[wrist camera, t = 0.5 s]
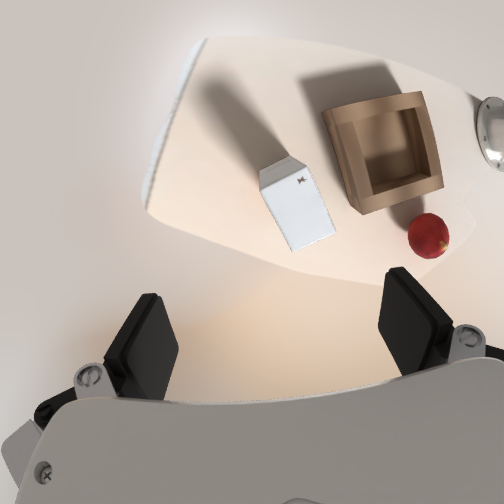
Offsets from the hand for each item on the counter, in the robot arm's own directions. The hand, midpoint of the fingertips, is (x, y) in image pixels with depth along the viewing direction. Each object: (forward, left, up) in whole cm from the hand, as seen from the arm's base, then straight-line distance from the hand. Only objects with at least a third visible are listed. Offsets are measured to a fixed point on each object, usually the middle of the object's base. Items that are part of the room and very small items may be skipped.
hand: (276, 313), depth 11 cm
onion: (-19, +11, -24) cm, 32 cm away
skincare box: (-3, 0, -24) cm, 24 cm away
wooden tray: (-16, -1, -23) cm, 28 cm away
